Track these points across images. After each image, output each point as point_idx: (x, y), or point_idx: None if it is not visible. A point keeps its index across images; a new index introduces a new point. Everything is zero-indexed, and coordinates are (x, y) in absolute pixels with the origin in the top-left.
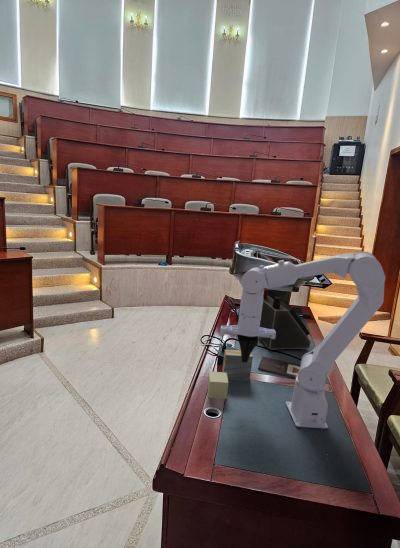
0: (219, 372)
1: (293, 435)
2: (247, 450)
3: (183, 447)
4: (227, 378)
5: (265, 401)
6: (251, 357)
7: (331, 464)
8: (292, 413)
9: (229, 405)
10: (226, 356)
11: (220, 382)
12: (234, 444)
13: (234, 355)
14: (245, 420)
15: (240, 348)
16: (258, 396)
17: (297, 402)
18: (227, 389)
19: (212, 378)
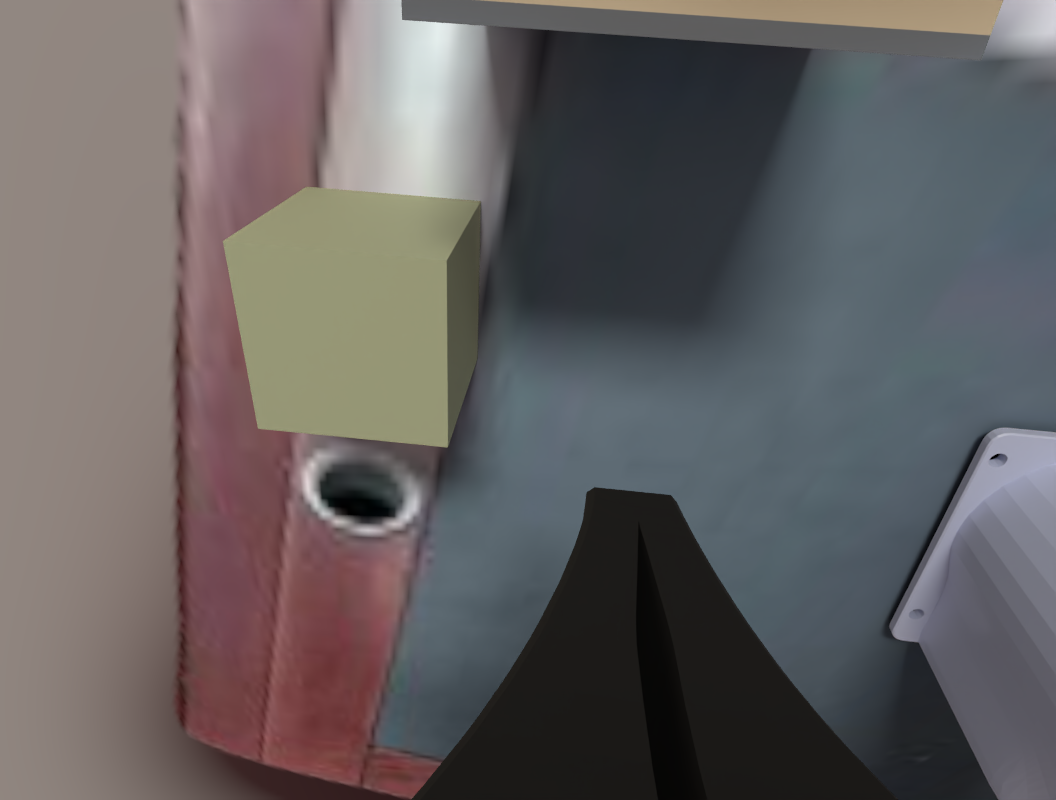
0: (356, 256)
1: (823, 667)
2: None
3: (233, 680)
4: (445, 379)
5: (814, 395)
6: (945, 53)
7: (896, 792)
8: (944, 555)
9: (489, 434)
10: (424, 17)
11: (367, 435)
12: (471, 685)
13: (581, 28)
14: None
15: (548, 613)
16: (783, 330)
17: (1006, 669)
18: (460, 406)
19: (279, 377)
